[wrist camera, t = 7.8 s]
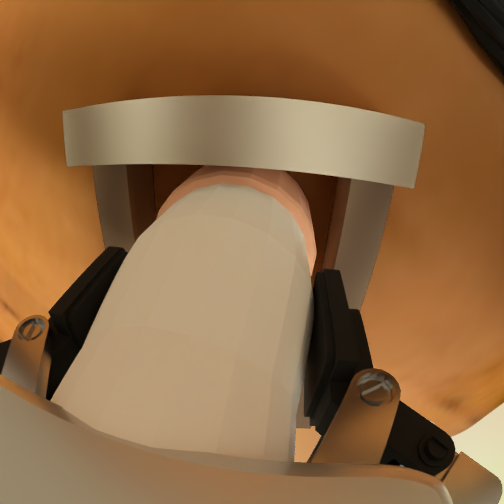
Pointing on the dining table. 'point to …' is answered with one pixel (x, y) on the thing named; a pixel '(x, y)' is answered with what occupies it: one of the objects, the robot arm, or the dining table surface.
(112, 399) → the pepper shaker
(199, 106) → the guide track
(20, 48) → the dining table surface
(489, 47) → the cable lock
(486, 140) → the dining table surface
